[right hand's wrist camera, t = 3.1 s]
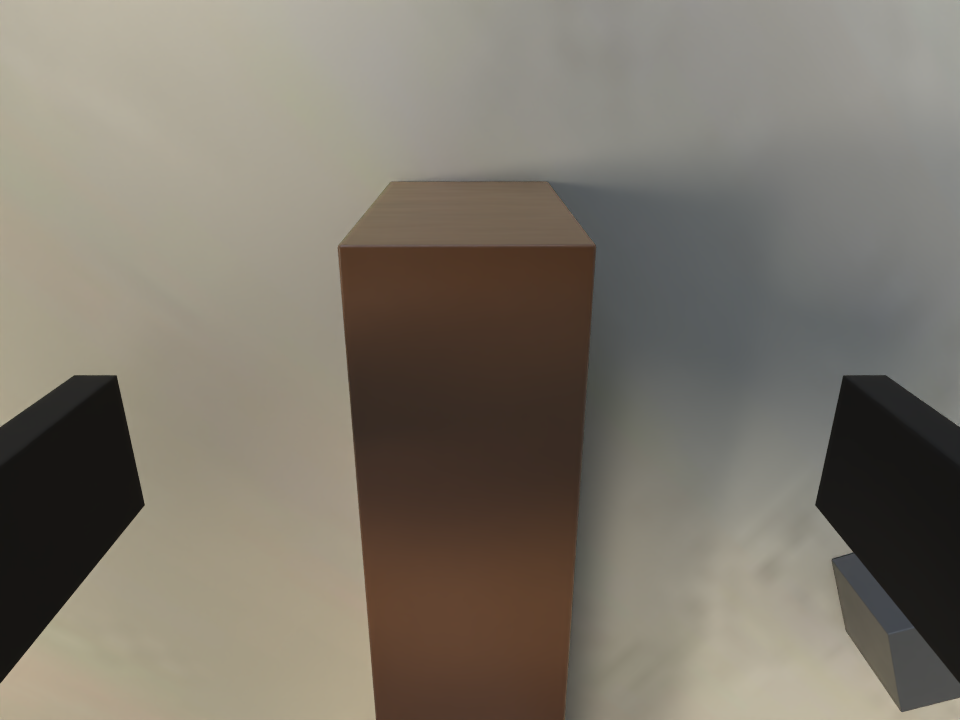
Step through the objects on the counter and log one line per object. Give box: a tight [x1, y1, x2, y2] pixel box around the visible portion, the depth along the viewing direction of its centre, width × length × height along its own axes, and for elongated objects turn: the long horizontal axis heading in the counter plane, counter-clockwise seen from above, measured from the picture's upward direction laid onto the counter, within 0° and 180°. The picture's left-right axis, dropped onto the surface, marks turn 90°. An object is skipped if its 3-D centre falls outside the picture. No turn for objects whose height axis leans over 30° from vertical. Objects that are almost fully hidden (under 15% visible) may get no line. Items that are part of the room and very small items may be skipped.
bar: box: [338, 182, 596, 720], centre depth 22 cm, size 26×5×9 cm, turn 0°
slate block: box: [832, 553, 960, 712], centre depth 26 cm, size 4×4×4 cm
